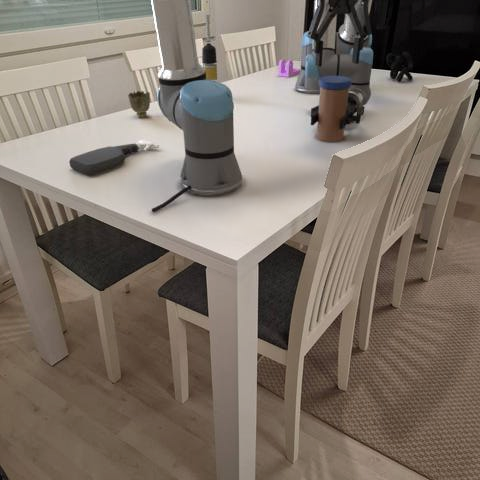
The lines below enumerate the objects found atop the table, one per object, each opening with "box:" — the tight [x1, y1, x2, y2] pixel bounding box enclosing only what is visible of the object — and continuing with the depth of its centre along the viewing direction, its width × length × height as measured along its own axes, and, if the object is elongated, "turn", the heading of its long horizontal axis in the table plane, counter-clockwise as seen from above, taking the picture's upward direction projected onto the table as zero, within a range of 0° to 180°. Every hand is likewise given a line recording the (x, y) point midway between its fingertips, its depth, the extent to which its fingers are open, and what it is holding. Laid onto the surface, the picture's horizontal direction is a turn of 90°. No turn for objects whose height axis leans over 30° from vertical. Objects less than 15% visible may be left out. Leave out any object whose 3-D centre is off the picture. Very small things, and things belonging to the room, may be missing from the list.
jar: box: [316, 87, 349, 143], centre depth 133 cm, size 8×8×17 cm
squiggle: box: [385, 51, 414, 83], centre depth 198 cm, size 11×10×15 cm
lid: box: [319, 76, 351, 90], centre depth 129 cm, size 9×9×2 cm
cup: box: [127, 90, 151, 118], centre depth 157 cm, size 8×7×8 cm
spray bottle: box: [68, 139, 160, 177], centre depth 124 cm, size 3×11×24 cm
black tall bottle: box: [201, 14, 218, 82], centre depth 171 cm, size 6×6×30 cm
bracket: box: [277, 59, 301, 78], centre depth 213 cm, size 13×6×7 cm, turn 143°
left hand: (336, 64), depth 126 cm, fingers open, 10 cm apart
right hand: (326, 122), depth 131 cm, fingers closed on jar, 8 cm apart
